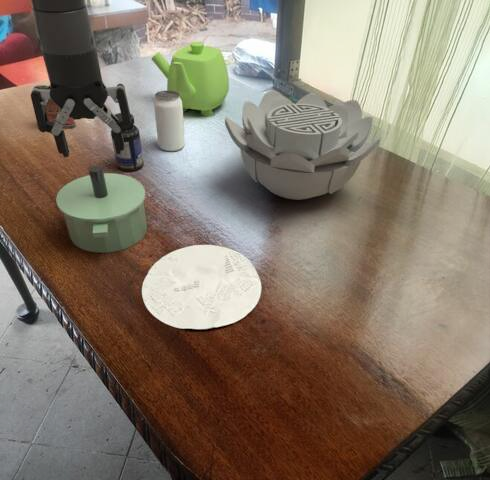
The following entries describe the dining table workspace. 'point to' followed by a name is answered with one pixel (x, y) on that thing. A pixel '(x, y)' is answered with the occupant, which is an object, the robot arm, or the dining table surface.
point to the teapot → (196, 76)
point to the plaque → (201, 287)
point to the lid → (100, 196)
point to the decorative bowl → (302, 143)
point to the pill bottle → (129, 148)
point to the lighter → (56, 111)
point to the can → (169, 120)
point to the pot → (108, 232)
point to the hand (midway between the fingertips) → (92, 153)
